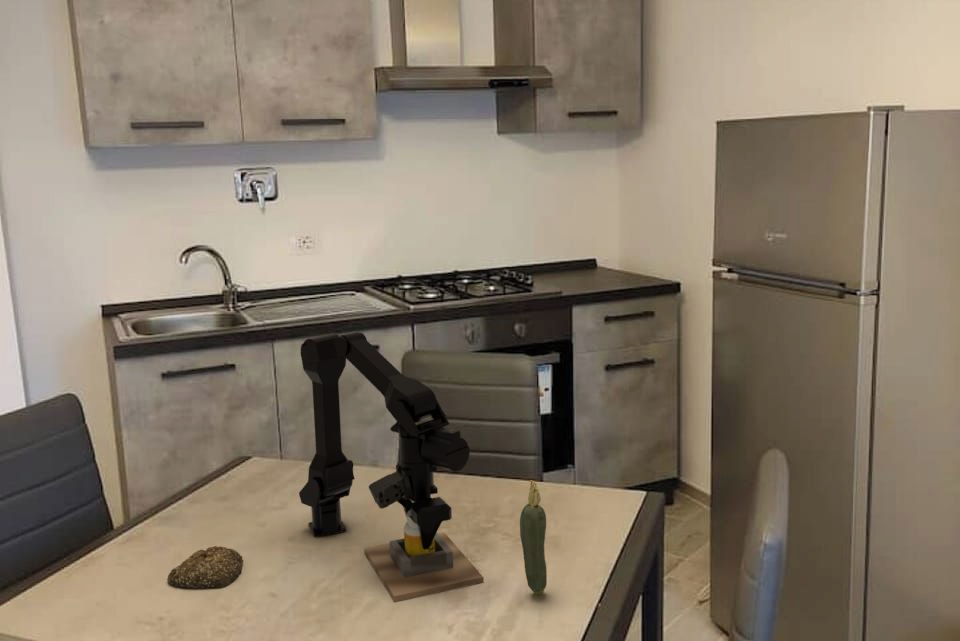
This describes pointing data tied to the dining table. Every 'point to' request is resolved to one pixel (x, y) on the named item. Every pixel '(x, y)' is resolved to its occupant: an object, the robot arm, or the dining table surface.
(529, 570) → the vegetable
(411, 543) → the supplement bottle
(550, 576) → the dining table surface
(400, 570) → the can holder
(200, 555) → the bread roll
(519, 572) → the dining table surface
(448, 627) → the dining table surface
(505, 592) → the dining table surface
